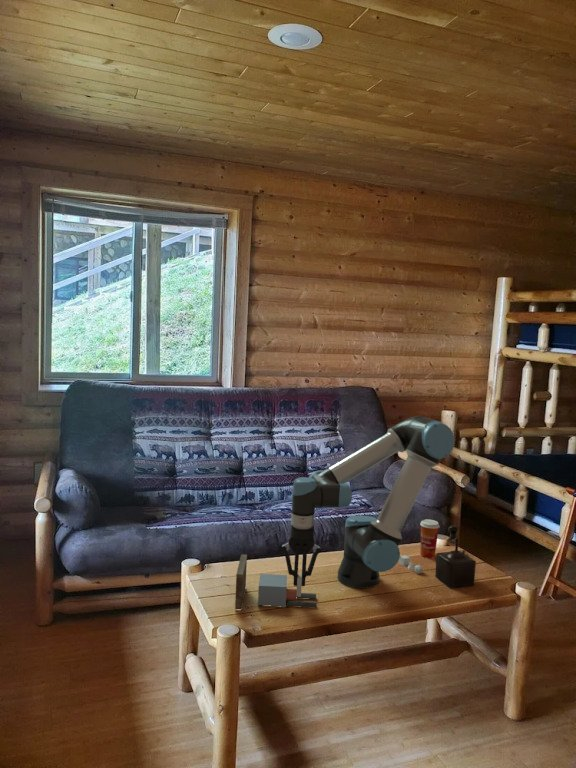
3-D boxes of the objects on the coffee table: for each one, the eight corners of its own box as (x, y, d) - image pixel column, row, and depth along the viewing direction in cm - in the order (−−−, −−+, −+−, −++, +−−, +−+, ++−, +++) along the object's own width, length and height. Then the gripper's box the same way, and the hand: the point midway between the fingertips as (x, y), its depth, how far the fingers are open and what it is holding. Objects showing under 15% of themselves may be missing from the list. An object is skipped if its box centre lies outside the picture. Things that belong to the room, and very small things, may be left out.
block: (286, 594, 199) (287, 575, 198) (285, 607, 190) (286, 587, 189) (259, 593, 199) (260, 573, 198) (257, 605, 190) (258, 585, 189)
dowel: (296, 599, 196) (296, 587, 196) (296, 603, 192) (296, 591, 192) (266, 598, 196) (266, 586, 196) (265, 602, 192) (266, 590, 192)
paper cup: (414, 555, 239) (416, 521, 238) (423, 550, 245) (425, 517, 243) (432, 560, 234) (434, 526, 233) (440, 555, 240) (443, 522, 238)
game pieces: (398, 563, 231) (398, 555, 230) (405, 562, 232) (405, 554, 232) (417, 575, 220) (417, 567, 220) (424, 574, 221) (425, 566, 221)
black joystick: (476, 586, 213) (480, 538, 211) (450, 589, 209) (454, 540, 208) (451, 568, 228) (455, 523, 226) (426, 571, 224) (430, 525, 222)
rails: (315, 598, 197) (316, 593, 197) (316, 607, 191) (316, 603, 191) (287, 596, 198) (287, 592, 197) (287, 606, 191) (287, 601, 191)
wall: (245, 588, 202) (247, 554, 201) (241, 610, 186) (242, 574, 185) (239, 588, 202) (241, 554, 201) (234, 610, 186) (236, 574, 185)
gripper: (282, 528, 188) (278, 599, 190) (322, 530, 188) (318, 601, 190) (282, 520, 195) (279, 588, 198) (321, 522, 195) (317, 590, 198)
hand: (298, 594), depth 194 cm, fingers closed
